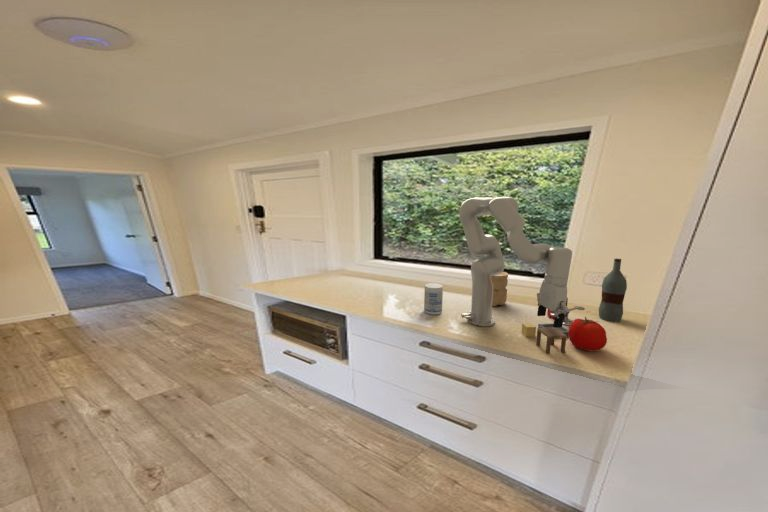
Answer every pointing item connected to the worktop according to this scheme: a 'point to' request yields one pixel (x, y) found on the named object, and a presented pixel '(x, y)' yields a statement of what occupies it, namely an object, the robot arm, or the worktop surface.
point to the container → (499, 288)
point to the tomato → (587, 334)
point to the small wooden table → (551, 338)
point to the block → (528, 329)
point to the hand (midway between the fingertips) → (548, 321)
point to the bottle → (613, 294)
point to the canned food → (554, 312)
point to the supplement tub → (433, 298)
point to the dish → (556, 328)
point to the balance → (567, 315)
